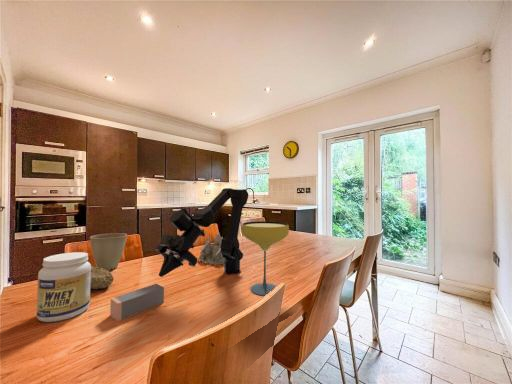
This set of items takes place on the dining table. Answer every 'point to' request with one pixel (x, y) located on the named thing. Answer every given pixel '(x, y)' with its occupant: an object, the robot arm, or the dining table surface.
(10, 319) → the dining table surface
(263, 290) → the cocktail glass
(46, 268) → the supplement tub
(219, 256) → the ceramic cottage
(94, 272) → the brown rock
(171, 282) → the dining table surface
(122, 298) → the charcoal block
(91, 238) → the plant pot
